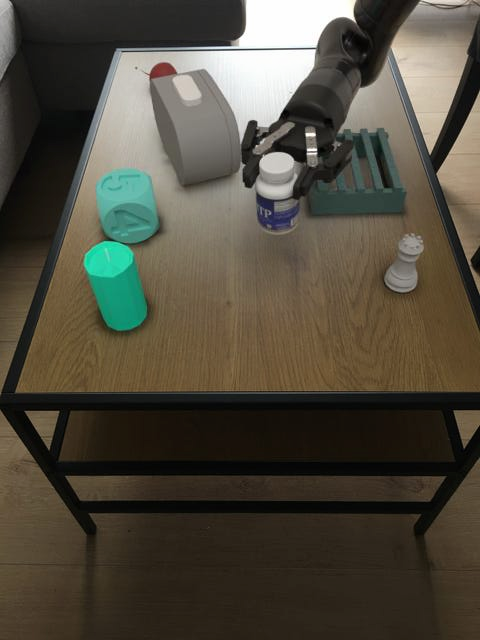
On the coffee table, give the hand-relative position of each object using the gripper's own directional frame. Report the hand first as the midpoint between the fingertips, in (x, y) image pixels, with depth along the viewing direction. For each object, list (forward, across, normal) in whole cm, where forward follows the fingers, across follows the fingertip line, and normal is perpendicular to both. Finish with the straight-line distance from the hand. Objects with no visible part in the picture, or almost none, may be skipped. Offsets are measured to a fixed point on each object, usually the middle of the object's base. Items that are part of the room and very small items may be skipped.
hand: (271, 187), depth 61 cm
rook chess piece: (-8, +16, +18) cm, 25 cm away
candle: (+11, -17, +18) cm, 27 cm away
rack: (-27, +4, +18) cm, 33 cm away
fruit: (-42, -40, +18) cm, 61 cm away
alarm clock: (-24, -22, +18) cm, 37 cm away
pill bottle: (-2, 0, +7) cm, 7 cm away
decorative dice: (-4, -24, +18) cm, 30 cm away
